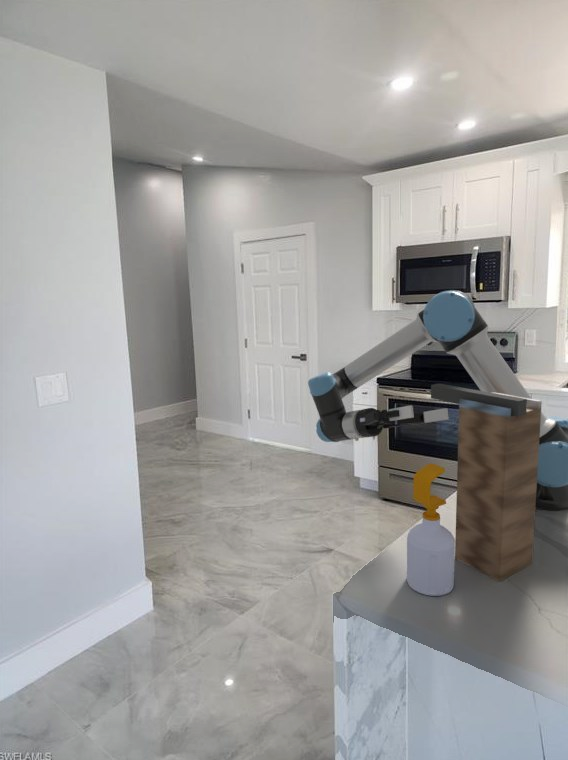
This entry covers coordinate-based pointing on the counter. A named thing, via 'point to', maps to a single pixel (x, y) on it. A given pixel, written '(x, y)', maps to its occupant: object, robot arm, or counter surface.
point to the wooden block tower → (496, 486)
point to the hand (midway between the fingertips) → (430, 412)
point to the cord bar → (478, 397)
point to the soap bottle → (430, 541)
